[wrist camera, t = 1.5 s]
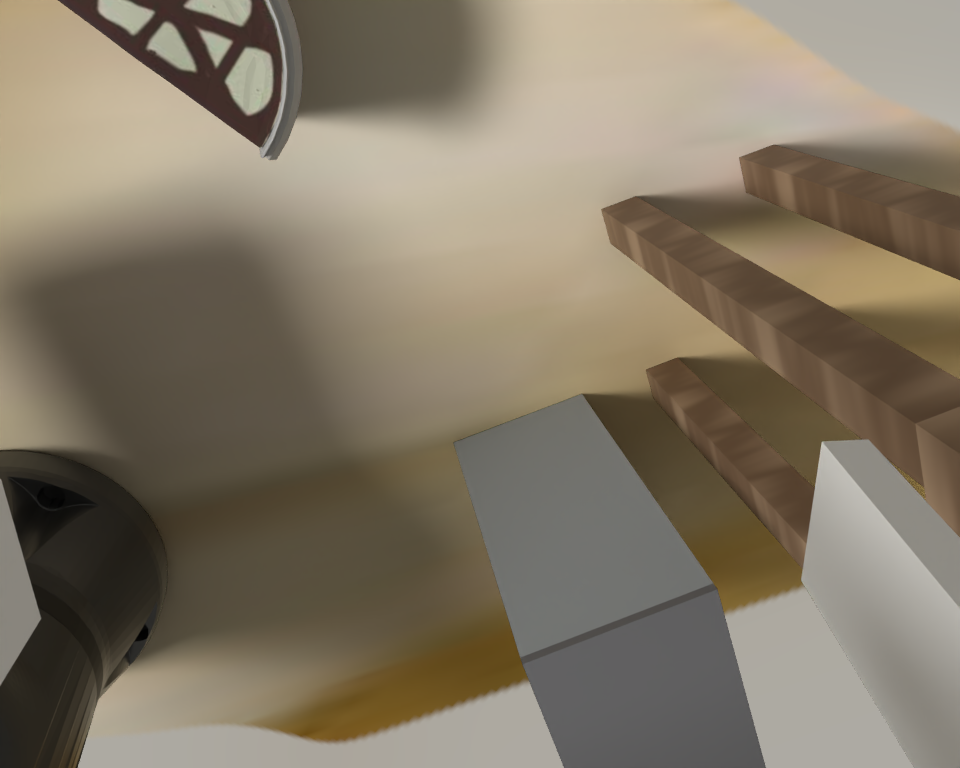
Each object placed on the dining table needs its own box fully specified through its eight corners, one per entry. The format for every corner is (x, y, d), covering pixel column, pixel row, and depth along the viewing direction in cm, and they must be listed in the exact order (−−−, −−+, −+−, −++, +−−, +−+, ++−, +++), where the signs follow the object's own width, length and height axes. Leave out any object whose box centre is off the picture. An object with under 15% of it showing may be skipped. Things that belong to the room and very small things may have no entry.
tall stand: (654, 398, 53) (1007, 802, 26) (601, 209, 48) (966, 458, 21) (810, 339, 53) (1325, 677, 26) (773, 144, 49) (1358, 308, 21)
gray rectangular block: (505, 575, 56) (591, 835, 38) (453, 442, 52) (522, 664, 34) (624, 529, 56) (765, 768, 38) (581, 394, 52) (717, 589, 34)
